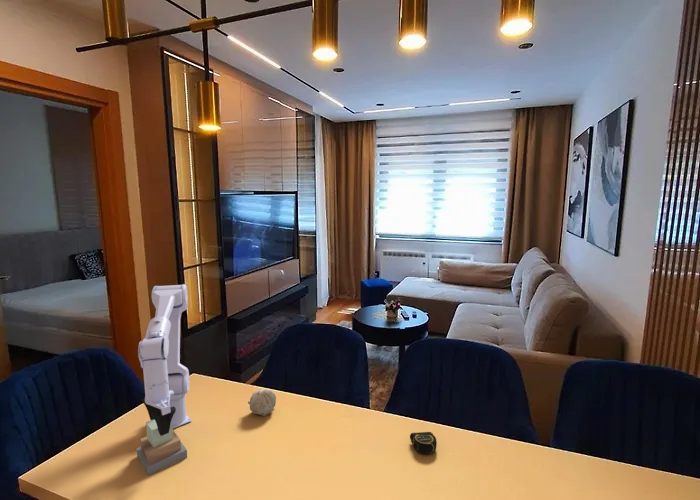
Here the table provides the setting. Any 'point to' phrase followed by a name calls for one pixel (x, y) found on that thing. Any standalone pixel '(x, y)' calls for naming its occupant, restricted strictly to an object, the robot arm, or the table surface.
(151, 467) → the tower base
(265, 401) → the garlic bulb
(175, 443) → the tower top
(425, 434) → the tape measure
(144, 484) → the table surface
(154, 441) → the green cube
